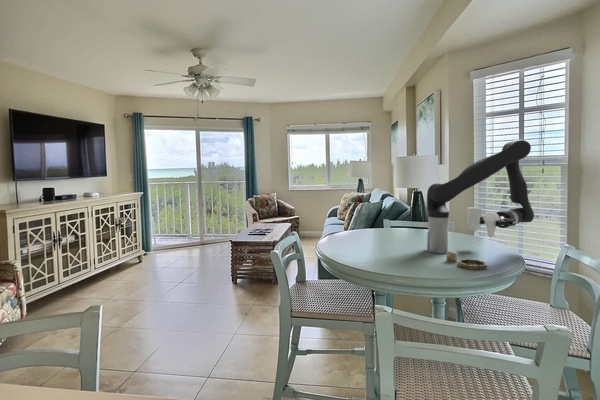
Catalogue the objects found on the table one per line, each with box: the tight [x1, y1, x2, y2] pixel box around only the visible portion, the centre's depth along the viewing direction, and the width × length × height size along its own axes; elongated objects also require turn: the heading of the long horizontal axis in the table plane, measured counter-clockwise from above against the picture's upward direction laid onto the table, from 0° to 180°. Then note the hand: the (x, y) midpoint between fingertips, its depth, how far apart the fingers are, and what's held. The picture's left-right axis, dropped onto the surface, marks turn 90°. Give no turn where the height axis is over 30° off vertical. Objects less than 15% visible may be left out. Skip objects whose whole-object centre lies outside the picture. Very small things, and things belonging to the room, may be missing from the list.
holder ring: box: [457, 258, 488, 271], centre depth 144 cm, size 10×10×2 cm
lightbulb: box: [483, 211, 500, 238], centre depth 148 cm, size 6×6×11 cm
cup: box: [466, 206, 484, 232], centre depth 173 cm, size 7×7×21 cm
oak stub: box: [446, 250, 458, 264], centre depth 151 cm, size 4×4×4 cm
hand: (488, 222), depth 146 cm, fingers closed on lightbulb, 5 cm apart
